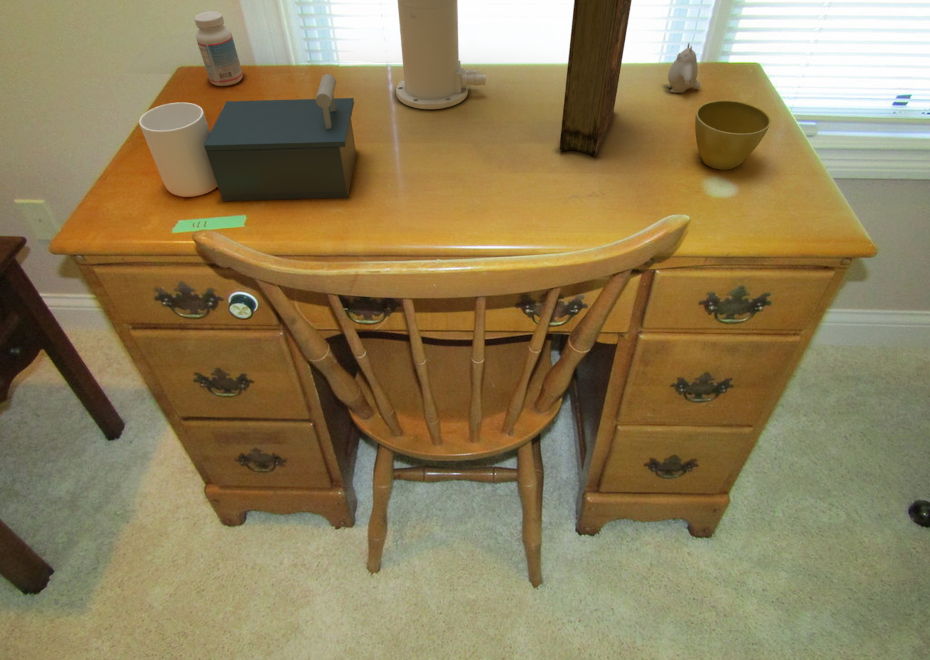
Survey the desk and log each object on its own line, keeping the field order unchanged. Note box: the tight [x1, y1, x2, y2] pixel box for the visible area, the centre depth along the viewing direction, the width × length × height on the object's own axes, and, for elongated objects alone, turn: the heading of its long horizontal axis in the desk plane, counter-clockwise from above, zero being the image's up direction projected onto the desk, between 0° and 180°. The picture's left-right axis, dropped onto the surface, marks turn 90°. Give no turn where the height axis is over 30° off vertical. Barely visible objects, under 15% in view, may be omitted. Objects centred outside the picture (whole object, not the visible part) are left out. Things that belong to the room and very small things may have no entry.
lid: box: [204, 73, 355, 151], centre depth 86 cm, size 18×13×6 cm
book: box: [559, 0, 632, 157], centre depth 92 cm, size 16×6×25 cm, turn 160°
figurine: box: [666, 42, 701, 94], centre depth 108 cm, size 8×6×8 cm
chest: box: [206, 120, 357, 202], centre depth 90 cm, size 18×13×8 cm
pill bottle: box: [193, 10, 244, 87], centre depth 112 cm, size 6×6×11 cm
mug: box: [138, 101, 218, 198], centre depth 90 cm, size 12×8×10 cm
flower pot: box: [694, 99, 772, 171], centre depth 92 cm, size 10×10×7 cm
